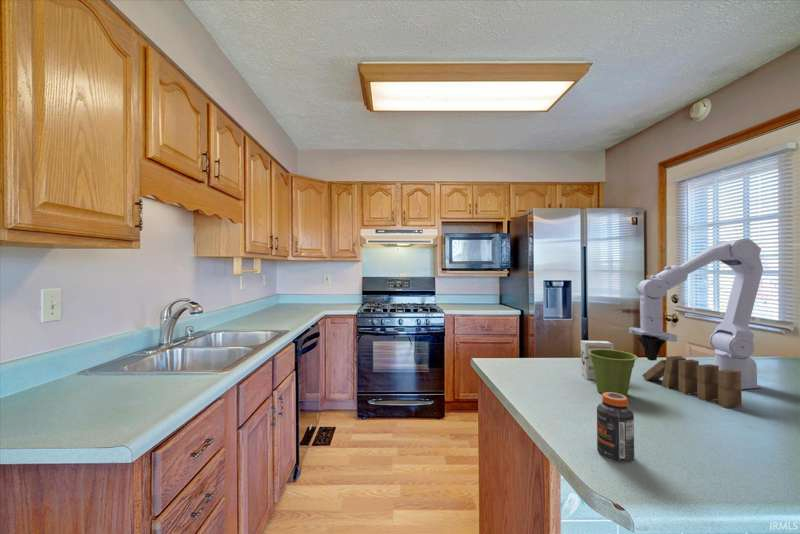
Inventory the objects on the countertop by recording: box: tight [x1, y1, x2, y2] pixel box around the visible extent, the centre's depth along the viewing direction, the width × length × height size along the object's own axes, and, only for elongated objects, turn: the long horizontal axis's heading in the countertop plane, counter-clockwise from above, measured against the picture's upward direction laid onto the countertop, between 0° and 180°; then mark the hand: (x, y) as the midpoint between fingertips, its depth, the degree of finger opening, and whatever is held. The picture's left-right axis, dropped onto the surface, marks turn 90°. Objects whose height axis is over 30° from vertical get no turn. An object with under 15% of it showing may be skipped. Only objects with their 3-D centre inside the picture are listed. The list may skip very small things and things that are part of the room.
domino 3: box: [678, 359, 700, 395], centre depth 96 cm, size 5×2×9 cm, turn 102°
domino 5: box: [717, 369, 743, 409], centre depth 86 cm, size 5×2×9 cm, turn 102°
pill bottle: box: [596, 392, 635, 464], centre depth 63 cm, size 6×6×11 cm
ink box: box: [580, 339, 615, 381], centre depth 109 cm, size 9×5×12 cm, turn 80°
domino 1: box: [642, 359, 666, 381], centre depth 104 cm, size 5×2×9 cm
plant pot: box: [588, 349, 638, 397], centre depth 95 cm, size 12×12×11 cm
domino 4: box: [696, 363, 719, 401], centre depth 91 cm, size 5×2×9 cm, turn 102°
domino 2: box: [661, 355, 687, 388], centre depth 100 cm, size 5×2×9 cm, turn 102°
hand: (651, 359), depth 106 cm, fingers closed
